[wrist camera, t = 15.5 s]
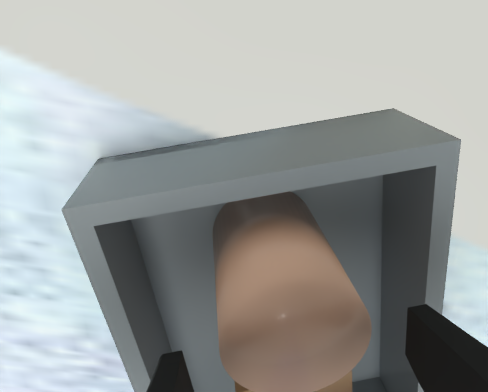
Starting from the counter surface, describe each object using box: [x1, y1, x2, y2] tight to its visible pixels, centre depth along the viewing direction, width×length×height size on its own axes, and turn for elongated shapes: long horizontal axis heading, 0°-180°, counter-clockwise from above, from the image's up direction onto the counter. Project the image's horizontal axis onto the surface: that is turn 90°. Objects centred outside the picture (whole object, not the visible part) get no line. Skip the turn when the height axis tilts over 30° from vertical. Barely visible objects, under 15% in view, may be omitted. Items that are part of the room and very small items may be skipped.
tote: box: [62, 109, 461, 392], centre depth 19 cm, size 18×14×5 cm
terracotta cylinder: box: [212, 191, 372, 392], centre depth 15 cm, size 5×5×7 cm
